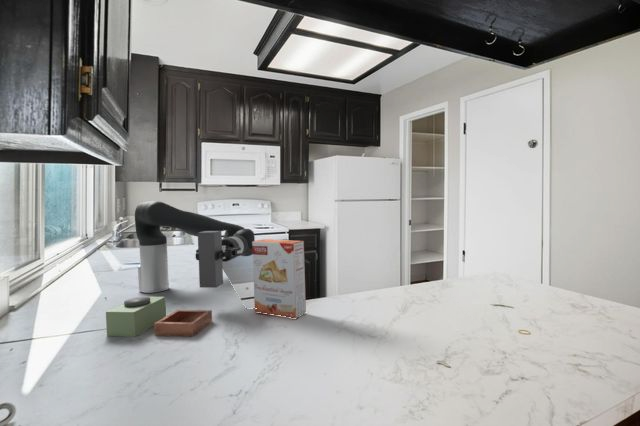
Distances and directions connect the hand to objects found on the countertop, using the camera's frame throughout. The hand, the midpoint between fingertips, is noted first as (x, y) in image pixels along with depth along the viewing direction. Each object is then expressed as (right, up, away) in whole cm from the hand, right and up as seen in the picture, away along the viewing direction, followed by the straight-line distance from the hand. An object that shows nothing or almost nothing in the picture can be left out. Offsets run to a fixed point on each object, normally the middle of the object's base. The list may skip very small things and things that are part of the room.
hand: (206, 256), depth 97 cm
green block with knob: (-15, -17, -9) cm, 24 cm away
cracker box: (+21, -16, -2) cm, 27 cm away
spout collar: (-2, -17, -11) cm, 20 cm away
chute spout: (+1, -9, +3) cm, 9 cm away
